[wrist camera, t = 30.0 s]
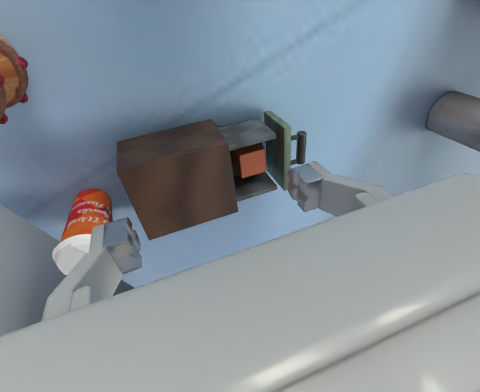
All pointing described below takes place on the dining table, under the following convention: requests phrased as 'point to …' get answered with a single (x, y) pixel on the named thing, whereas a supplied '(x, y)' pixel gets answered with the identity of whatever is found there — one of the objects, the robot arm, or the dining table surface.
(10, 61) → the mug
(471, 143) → the pillar candle
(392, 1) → the dining table surface
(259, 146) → the block
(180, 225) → the cabinet
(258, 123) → the drawer
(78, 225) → the paper cup
